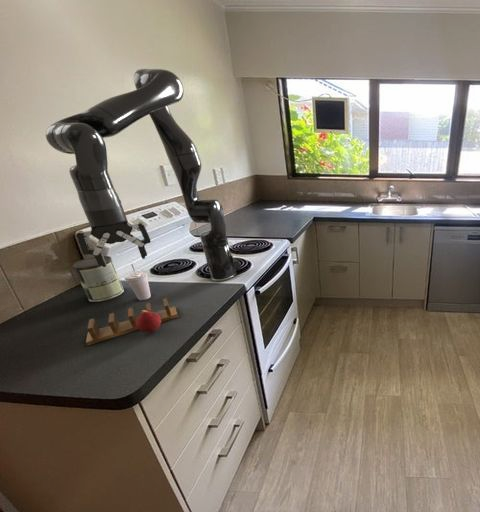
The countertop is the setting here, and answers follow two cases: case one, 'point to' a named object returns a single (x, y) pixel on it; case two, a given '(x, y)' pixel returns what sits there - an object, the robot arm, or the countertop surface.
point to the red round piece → (148, 321)
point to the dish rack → (124, 324)
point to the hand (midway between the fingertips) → (125, 261)
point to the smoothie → (139, 283)
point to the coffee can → (98, 279)
